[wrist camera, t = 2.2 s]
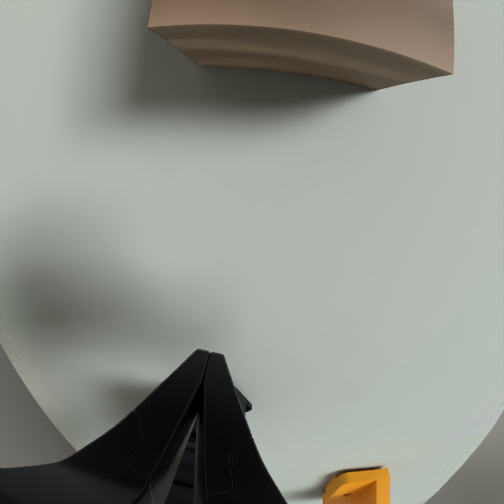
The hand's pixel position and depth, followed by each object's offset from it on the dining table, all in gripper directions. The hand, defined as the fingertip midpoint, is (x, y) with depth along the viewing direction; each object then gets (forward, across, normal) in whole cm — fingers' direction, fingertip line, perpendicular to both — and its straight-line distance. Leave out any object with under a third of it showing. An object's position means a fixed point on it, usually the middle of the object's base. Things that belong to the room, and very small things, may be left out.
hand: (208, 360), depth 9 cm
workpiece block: (+12, 0, -18) cm, 22 cm away
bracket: (+12, -24, +36) cm, 45 cm away
